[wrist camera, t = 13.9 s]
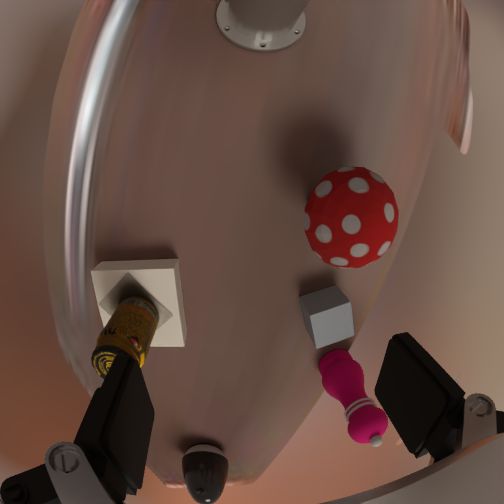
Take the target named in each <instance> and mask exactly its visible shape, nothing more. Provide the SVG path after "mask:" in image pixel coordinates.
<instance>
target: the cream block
mask: <svg viewBox="0 0 504 504" xmlns="http://www.w3.org/2000/svg"><path fill="white" fill-rule="evenodd" d="M126 273H128V274H129V275H130V276H131V277H132V278H133V279H134V280H136V281H137V282H138V283H139V284H140V285H141V286H142V287H143V288H144V289H145V290H146V291H147V292H148V293H149V294H150V295H151V296H153V297H154V298H155V299H156V300H157V301H158V302H159V303H160V304H161V305H162V306H163V307H165V308H166V309H167V310H168V311H169V312H170V313H171V314H172V315H173V316H172V317H171V318H170V319H169V320H168V321H167V322H165V323H164V324H163V325H162V326H161V327H160V328H158V329H157V330H156V331H155V334H154V337H153V339H152V342H151V345H150V346H161V347H184V346H185V340H186V335H187V328H186V321H185V313H184V305H183V297H182V289H181V280H180V270H179V260H178V259H154V260H128V261H101V262H100V263H99V264H98V265H97V266H96V267H95V268H94V269H92V270H91V274H92V279H93V284H94V289H95V293H96V298H97V302H98V306H99V310H100V314H101V318H102V322H103V325H104V327H105V326H106V324H107V323H108V321H109V320H110V318H111V316H110V315H109V314H108V313H107V312H106V311H105V310H104V309H103V308H102V307H101V306H100V305H99V303H100V302H101V301H102V299H103V298H104V297H105V296H106V295H107V294H108V293H109V292H110V291H111V289H112V288H113V287H114V286H115V285H116V284H117V283H118V282H119V281H120V280H121V279H122V278H123V276H124V275H125V274H126Z"/></svg>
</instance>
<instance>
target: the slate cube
mask: <svg viewBox="0 0 504 504" xmlns="http://www.w3.org/2000/svg"><path fill="white" fill-rule="evenodd" d="M299 298H300V303H301V307H302V312H303V316H304V321H305V326H306V329H307V331H308V333H309V335H310V337H311V339H312V341H313V343H314V345H315V347H316V349H318V348H321V347H324V346H327V345H330V344H333V343H335V342H338V341H341V340H344V339H346V338H349V337H352V336H354V327H353V318H352V309H351V302H350V300H349V299H348V298H347V297H346V296H345V295H344V294H343V293H342V291H341V290H340V289H339V288H338V287H337V286H336V285H334V286H331V287H328V288H325V289H322V290H319V291H316V292H312V293H309V294H306V295H303V296H300V297H299Z"/></svg>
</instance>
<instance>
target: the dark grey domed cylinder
mask: <svg viewBox="0 0 504 504" xmlns="http://www.w3.org/2000/svg"><path fill="white" fill-rule="evenodd" d="M182 470H183V476H184V480H185V483H186V486H187V489H188V491H189V493H190V495H191V496H192V498H193V499H194V500H195V501H196V502H198V503H200V504H213V503H215V502H216V501H217V500H218V499H219V497H220V496H221V494H222V492H223V489H224V486H225V483H226V479H227V474H228V460H227V459H226V457H225V455H224V453H223V452H222V451H221V450H220V449H218V448H217V447H215V446H212V445H206V444H201V445H196V446H193V447H191V448H190V449H188V450H187V452H186V453H185V455H184V456H183V458H182Z"/></svg>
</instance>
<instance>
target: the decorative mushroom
mask: <svg viewBox="0 0 504 504" xmlns="http://www.w3.org/2000/svg"><path fill="white" fill-rule="evenodd" d="M398 214H399V213H398V207H397V204H396V200H395V197H394V193H393V192H392V190H391V189H390V188H389V186H388V185H387V184H386V183H385V181H384V180H383V179H382V178H381V177H380V176H379V175H377V174H375V173H374V172H372V171H370V170H368V169H366V168H364V167H346V166H345V167H343V168H340V169H338V170H336V171H333V172H331V173H329V174H327V175H326V176H325V177H324V178H323V179H322V180H321V181H320V182H319V183H318V184H317V185H316V186H315V188H314V189H313V190H312V192H311V194H310V197H309V199H308V202H307V204H306V207H305V233H306V236H307V238H308V241H309V243H310V246H311V248H312V250H313V251H314V252H315V253H316V254H317V255H318V256H319V257H320V258H321V259H322V260H323V261H324V262H325V263H327V264H330V265H333V266H336V267H339V268H342V269H349V268H360V267H364V266H366V265H368V264H370V263H372V262H374V261H375V260H377V259H379V258H380V257H381V256H382V255H383V254H384V253H385V251H386V250H387V249H388V248H389V247H390V246H391V244H392V242H393V239H394V237H395V235H396V232H397V229H398Z"/></svg>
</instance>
